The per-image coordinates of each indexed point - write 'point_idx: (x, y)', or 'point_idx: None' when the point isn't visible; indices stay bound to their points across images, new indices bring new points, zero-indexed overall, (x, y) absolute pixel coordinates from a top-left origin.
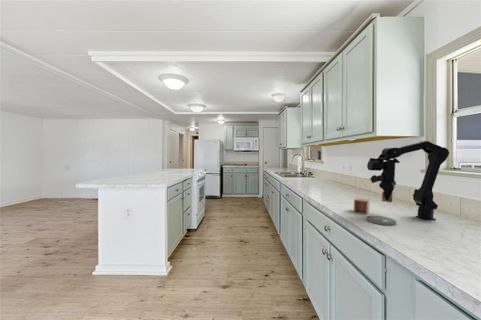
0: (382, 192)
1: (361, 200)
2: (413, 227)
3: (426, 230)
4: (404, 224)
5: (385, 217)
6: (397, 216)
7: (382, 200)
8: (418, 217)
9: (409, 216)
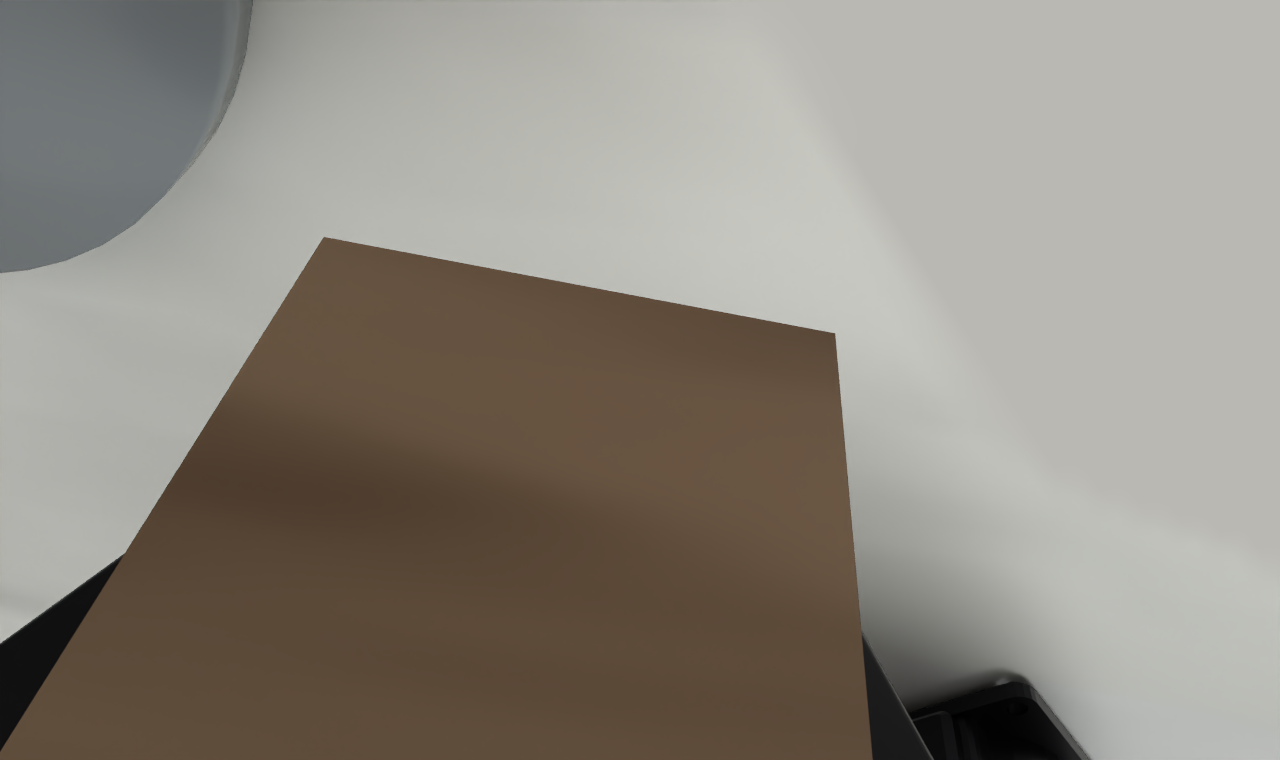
0: (19, 749)
1: None
2: (45, 483)
3: (35, 604)
4: (139, 387)
5: (141, 58)
6: (886, 381)
7: (305, 286)
8: (941, 707)
9: (1022, 598)
